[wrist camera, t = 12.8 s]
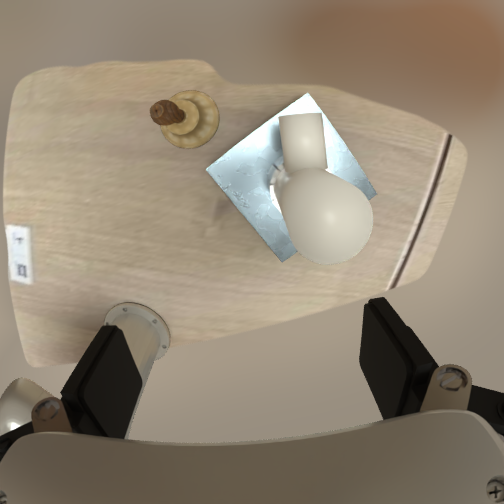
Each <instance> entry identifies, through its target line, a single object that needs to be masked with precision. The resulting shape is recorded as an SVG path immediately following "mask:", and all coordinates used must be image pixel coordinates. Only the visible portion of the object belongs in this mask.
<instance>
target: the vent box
mask: <svg viewBox="0 0 504 504" xmlns="http://www.w3.org/2000/svg"><path fill="white" fill-rule="evenodd" d="M301 113H322V118H323V126H324V135H325V144H326V154H327V165H328V169H326V170H327V171H329V172H330V173H332V174H334V175H336V176H338V177H340V178H342V179H343V180H345V181H347V182H349V183H351V184H352V185H354V186H356V187H357V188H358V189H360V190H361V191H362V192H363V193H364V195H365V196H366V197H367V199H368V200H370V199H371V198H372V197H374V196H375V195H377V193H376V191H375V190H374V188H373V186H372V185H371V183H370V182H369V180H368V178H367V177H366V175H365V174H364V172H363V170H362V169H361V167H360V166H359V164H358V163H357V161H356V160H355V158H354V157H353V155H352V154H351V152H350V151H349V149H348V148H347V146H346V145H345V143H344V142H343V140H342V139H341V137H340V136H339V134H338V133H337V132H336V130H335V129H334V127H333V126H332V125H331V123H330V122H329V120H328V119H327V118H326V116H325V115H324V114H323V112H322V111H321V110H320V108H319V107H318V106H317V104H316V103H315V102H314V100H313V99H312V98H311V97H310V95H309V94H308V93H307V94H306V95H304V96H303V97H301V98H300V99H298V100H297V101H295V102H294V103H293V104H291V105H290V106H288V107H287V108H285V109H284V110H283V111H281V112H280V113H278V114H277V115H276V116H274V117H273V118H271V119H270V120H269V121H267V122H266V123H265V124H263V125H262V126H261V127H259V128H258V129H257V130H255V131H254V132H253V133H251V134H250V135H249V136H247V137H246V138H245V139H243V140H242V141H241V142H239V143H238V144H237V145H236V146H234V147H233V148H232V149H230V150H229V151H228V152H227V153H225V154H224V155H223V156H222V157H220V158H219V159H218V160H217V161H215V162H214V163H213V164H212V165H210V166H209V167H208V168H207V169H206V171H207V172H208V173H209V174H210V175H211V177H212V178H213V179H214V180H215V181H216V183H217V184H218V185H219V186H220V187H221V189H222V190H223V191H224V192H225V193H226V195H227V196H228V197H229V198H230V199H231V201H232V202H233V203H234V204H235V206H236V207H237V208H238V209H239V210H240V212H241V213H242V214H243V215H244V216H245V218H246V219H247V220H248V221H249V223H250V224H251V225H252V226H253V227H254V229H255V230H256V231H257V232H258V234H259V235H260V236H261V237H262V238H263V240H264V241H265V242H266V243H267V245H268V246H269V247H270V248H271V249H272V251H273V252H274V253H275V254H276V256H277V257H278V258H279V259H280V261H281V262H284V261H285V260H286V259H288V258H289V257H291V256H292V255H293V254H295V253H296V252H298V251H297V250H296V248H295V247H294V245H293V243H292V241H291V239H290V236H289V233H288V230H287V227H286V224H285V221H284V219H283V216H282V213H281V210H280V207H279V205H278V202H277V199H276V196H275V182H276V179H277V177H278V175H279V173H280V172H281V171H282V170H283V169H284V168H285V166H284V158H283V150H282V142H281V134H280V127H279V119H278V116H283V115H291V114H301Z"/></svg>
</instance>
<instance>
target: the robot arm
mask: <svg viewBox="0 0 504 504" xmlns="http://www.w3.org/2000/svg"><path fill="white" fill-rule="evenodd" d="M169 344H170V334H169V330H168V328H167V326H166V324H165V323H164V321H163V320H162V319H161V318H160V317H159V316H158V315H157V314H156V313H155V312H153V311H152V310H150V309H149V308H147V307H144V306H142V305H139V304H135V303H122V304H119V305H116V306H115V307H113V308H112V309H111V310H110V311H109V312H108V314H107V315H106V317H105V320H104V326H102V327H101V329H100V330H99V332H98V333H97V335H96V336H95V338H94V339H93V341H92V342H91V344H90V345H89V347H88V348H87V350H86V352H85V353H84V355H83V356H82V358H81V359H80V361H79V363H78V364H77V366H76V367H75V369H74V371H73V372H72V374H71V376H70V377H69V379H68V381H67V382H66V384H65V385H64V387H63V389H62V391H61V392H60V393H61V395H62V398H61V400H60V399H58V398H56V397H54V396H53V395H52V394H50V393H49V392H47V391H46V390H44V389H43V388H42V387H41V386H39V385H38V384H36V383H35V382H33V381H31V380H29V379H27V378H18V379H15V380H14V381H13V382H12V383H11V384H10V385H9V386H8V387H7V389H6V390H5V391H4V393H3V394H2V396H1V398H0V504H504V393H501V392H497V391H494V390H490V389H486V388H482V387H478V386H474V385H472V378H471V375H470V373H469V372H468V371H467V370H466V369H464V368H463V367H461V366H458V365H454V364H447V365H443V366H440V367H439V366H438V364H437V363H436V362H435V360H434V359H433V357H432V356H431V355H430V353H429V352H428V351H427V349H426V348H425V347H424V345H423V344H422V343H421V341H420V340H419V338H418V337H417V336H416V335H415V333H414V332H413V330H412V329H411V328H410V327H408V326H406V325H405V323H404V322H403V321H402V319H401V318H400V317H399V315H398V314H397V313H396V311H395V310H394V309H393V308H392V306H391V305H390V304H389V302H388V301H387V300H386V299H385V298H384V297H380V298H374V299H370V300H369V301H368V303H367V304H365V305H364V314H363V326H362V337H361V347H360V356H359V362H360V366H361V369H362V371H363V373H364V376H365V378H366V380H367V382H368V385H369V387H370V389H371V391H372V394H373V396H374V398H375V401H376V403H377V405H378V408H379V410H380V412H381V415H382V417H383V420H382V421H377V422H374V423H369V424H364V425H359V426H355V427H349V428H344V429H340V430H334V431H328V432H323V433H316V434H310V435H304V436H296V437H288V438H278V439H268V440H258V441H244V442H221V443H175V442H153V441H139V440H128V437H129V433H130V429H131V425H132V422H133V419H134V415H135V412H136V409H137V407H138V404H139V401H140V398H141V396H142V393H143V390H144V387H145V384H146V382H147V379H148V376H149V374H150V371H151V368H152V365H153V363H154V360H157V359H159V358H161V357H162V356H164V354H165V353H166V352H167V350H168V347H169Z"/></svg>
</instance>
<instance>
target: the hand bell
mask: <svg viewBox="0 0 504 504" xmlns="http://www.w3.org/2000/svg"><path fill="white" fill-rule="evenodd" d="M150 114H151V118H152V119H153V121H154V122H155V123H157V124H159V125H160V126H161V130H162V133H163V134H164V136H165V138H166V139H167V140H168V141H169V142H170V143H172V144H173V145H175V146H177V147H180V148H186V149H190V148H196V147H199V146H201V145H203V144H205V143H207V142H208V141H209V140H210V139H211V138H212V137H213V135H214V134H215V132H216V130H217V128H218V125H219V111H218V108H217V106H216V104H215V102H214V101H213V100H212V99H211V98H210V97H209V96H208V95H206V94H204V93H202V92H199V91H194V90H188V91H183V92H180V93H178V94H176V95H174V96H173V97H171V98H170V99H169V100H161V101H158V102H156V103H155V104H154V105H153V106H152V107H151V108H150Z"/></svg>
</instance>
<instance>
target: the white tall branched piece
mask: <svg viewBox="0 0 504 504" xmlns="http://www.w3.org/2000/svg"><path fill="white" fill-rule="evenodd" d="M278 119H279V127H280V134H281V142H282V150H283V158H284V166H285V168H284V169H283V170H282V171H281V172H280V173H279V175H278V177H277V179H276V182H275V196H276V199H277V202H278V205H279V207H280V210H281V213H282V216H283V219H284V221H285V224H286V227H287V230H288V233H289V236H290V239H291V241H292V243H293V245H294V247H295V248H296V250H297V251H298V252H299V253H300V254H301V255H302V256H303V257H305V258H306V259H308V260H310V261H312V262H315V263H318V264H323V265H333V264H338V263H342V262H345V261H347V260H349V259H351V258H352V257H354V256H355V255H356V254H358V253H359V252H360V251H361V250H362V248H363V247H364V246H365V244H366V243H367V241H368V239H369V237H370V235H371V231H372V227H373V213H372V208H371V205H370V203H369V201H368V199H367V197H366V196H365V195H364V193H363V192H362V191H361V190H360V189H358V188H357V187H356V186H354V185H352V184H351V183H349V182H347V181H345V180H343V179H342V178H340V177H338V176H336V175H334V174H332V173H330V172H329V171H327V170H326V169H328V165H327V154H326V144H325V135H324V126H323V118H322V113H301V114H291V115H283V116H278Z"/></svg>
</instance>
